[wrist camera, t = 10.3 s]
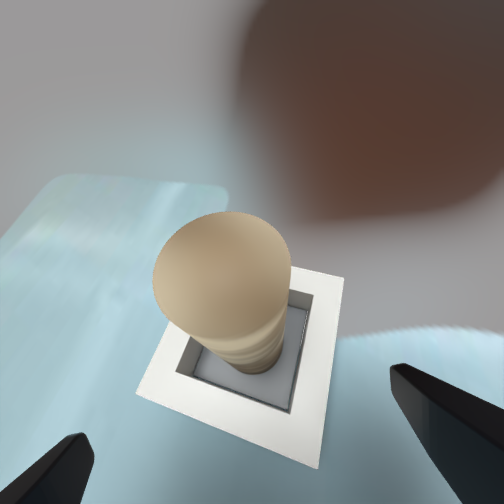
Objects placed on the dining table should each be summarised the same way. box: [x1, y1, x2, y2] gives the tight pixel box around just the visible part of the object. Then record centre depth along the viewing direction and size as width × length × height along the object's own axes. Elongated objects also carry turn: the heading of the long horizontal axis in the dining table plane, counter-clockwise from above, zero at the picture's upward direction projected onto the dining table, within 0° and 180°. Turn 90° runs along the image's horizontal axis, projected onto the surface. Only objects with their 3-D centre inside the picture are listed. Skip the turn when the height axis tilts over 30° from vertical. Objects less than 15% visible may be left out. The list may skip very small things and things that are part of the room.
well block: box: [135, 266, 344, 470], centre depth 19 cm, size 12×12×4 cm
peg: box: [153, 212, 291, 375], centre depth 15 cm, size 5×5×14 cm
